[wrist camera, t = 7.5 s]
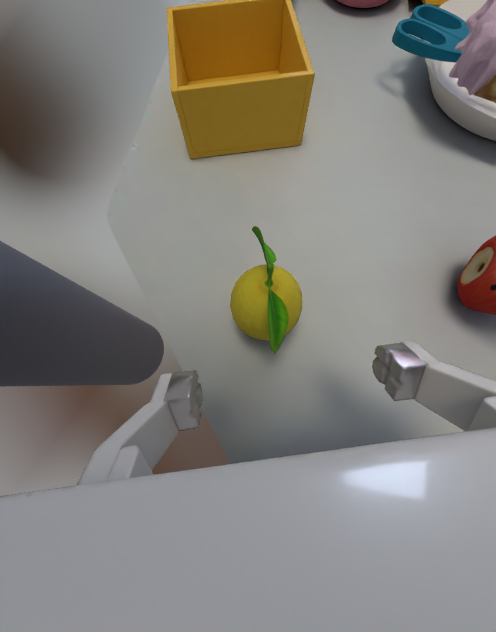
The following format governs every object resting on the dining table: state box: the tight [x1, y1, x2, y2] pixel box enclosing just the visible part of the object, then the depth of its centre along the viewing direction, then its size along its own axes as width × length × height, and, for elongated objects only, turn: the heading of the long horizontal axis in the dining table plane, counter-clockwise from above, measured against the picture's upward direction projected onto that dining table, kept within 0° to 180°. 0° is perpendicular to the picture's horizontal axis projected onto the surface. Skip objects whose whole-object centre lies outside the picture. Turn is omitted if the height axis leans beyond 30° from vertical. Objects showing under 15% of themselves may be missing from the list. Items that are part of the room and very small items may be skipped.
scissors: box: [392, 4, 470, 63], centre depth 25 cm, size 7×1×20 cm
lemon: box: [230, 226, 302, 354], centre depth 17 cm, size 7×6×10 cm
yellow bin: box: [167, 0, 315, 159], centre depth 26 cm, size 13×13×7 cm
